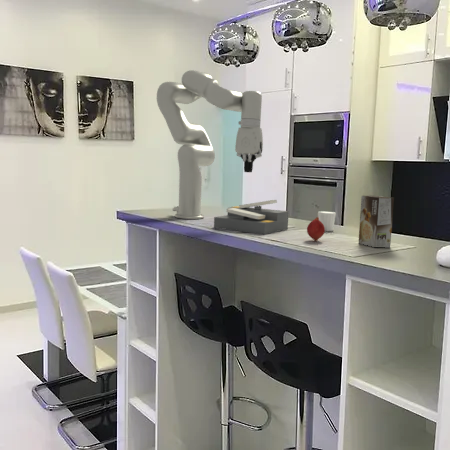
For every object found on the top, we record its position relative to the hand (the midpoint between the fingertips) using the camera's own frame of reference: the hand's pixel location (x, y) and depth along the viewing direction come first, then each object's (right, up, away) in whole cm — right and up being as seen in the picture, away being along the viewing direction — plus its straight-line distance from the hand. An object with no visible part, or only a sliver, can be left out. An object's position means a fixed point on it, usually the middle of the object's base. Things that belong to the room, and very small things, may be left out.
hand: (248, 172), depth 197 cm
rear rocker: (+4, -13, -2) cm, 14 cm away
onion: (+21, -26, -27) cm, 43 cm away
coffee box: (+40, -28, -32) cm, 58 cm away
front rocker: (-1, -17, -9) cm, 19 cm away
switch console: (+1, -22, -4) cm, 22 cm away
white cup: (+30, -23, 0) cm, 38 cm away
